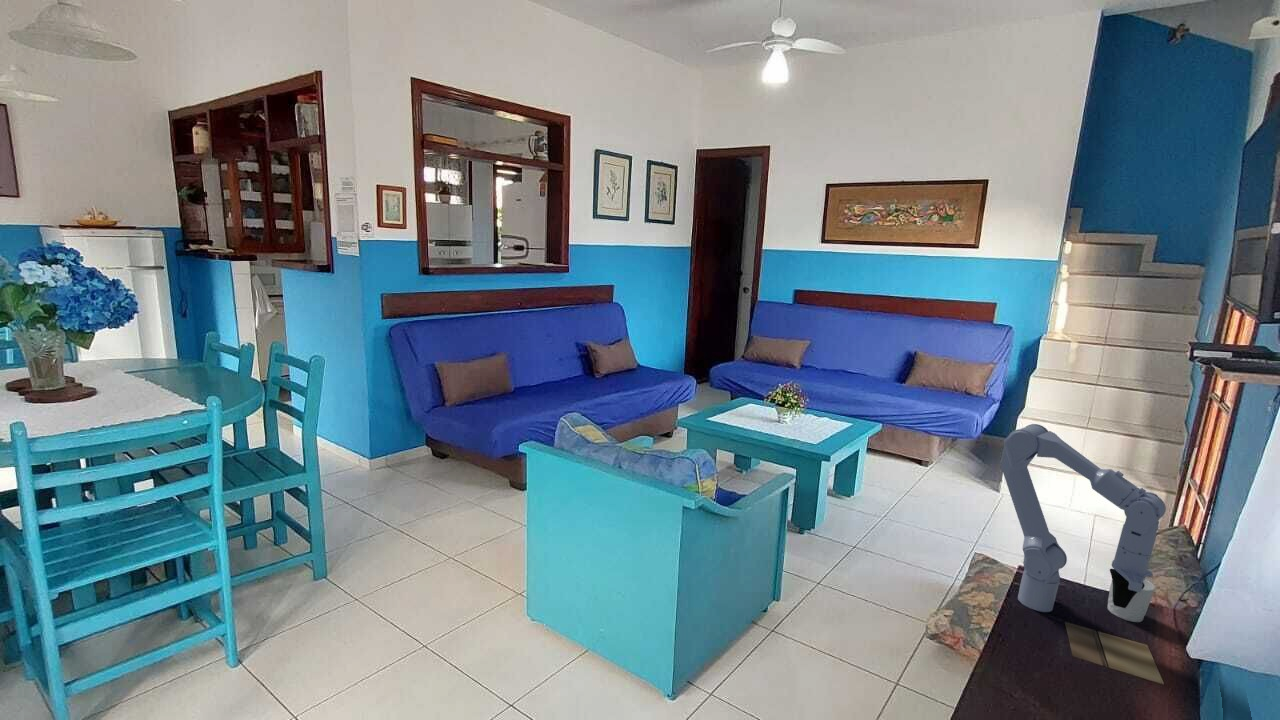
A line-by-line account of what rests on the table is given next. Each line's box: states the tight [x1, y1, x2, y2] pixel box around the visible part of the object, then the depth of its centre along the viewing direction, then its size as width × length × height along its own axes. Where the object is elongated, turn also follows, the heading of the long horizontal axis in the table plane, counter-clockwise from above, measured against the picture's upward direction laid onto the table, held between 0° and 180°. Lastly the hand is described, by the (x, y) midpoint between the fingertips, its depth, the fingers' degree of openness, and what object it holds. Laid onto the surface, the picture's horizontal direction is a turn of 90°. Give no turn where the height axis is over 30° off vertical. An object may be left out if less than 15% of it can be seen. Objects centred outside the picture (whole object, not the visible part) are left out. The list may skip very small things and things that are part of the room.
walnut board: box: [1064, 621, 1108, 668], centre depth 139 cm, size 14×6×2 cm, turn 153°
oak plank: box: [1097, 631, 1165, 686], centre depth 135 cm, size 14×9×2 cm, turn 153°
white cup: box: [1107, 578, 1156, 623], centre depth 151 cm, size 8×8×10 cm
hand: (1119, 605), depth 140 cm, fingers closed
